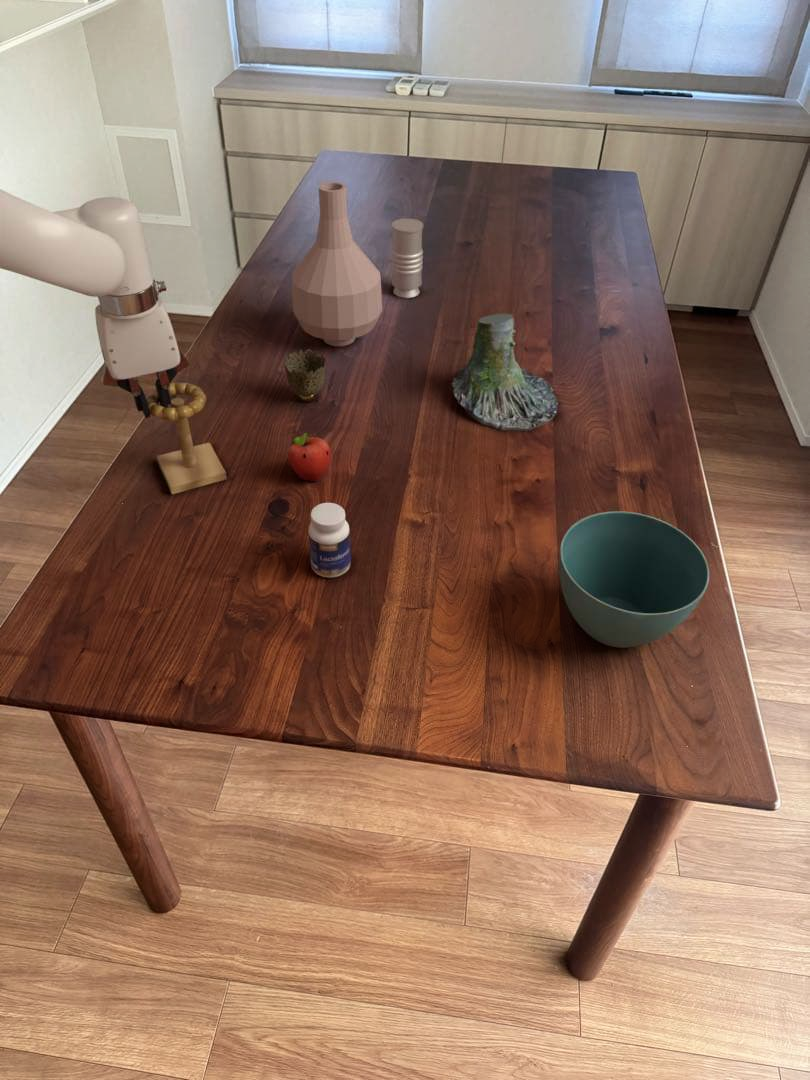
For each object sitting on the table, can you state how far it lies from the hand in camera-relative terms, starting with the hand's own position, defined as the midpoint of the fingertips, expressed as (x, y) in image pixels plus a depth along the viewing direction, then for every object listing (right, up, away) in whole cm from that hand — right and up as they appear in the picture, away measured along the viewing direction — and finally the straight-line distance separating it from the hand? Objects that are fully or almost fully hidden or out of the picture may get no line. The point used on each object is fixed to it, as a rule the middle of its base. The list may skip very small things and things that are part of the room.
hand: (155, 410), depth 120 cm
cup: (+20, +6, +26) cm, 34 cm away
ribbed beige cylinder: (+38, +36, +58) cm, 79 cm away
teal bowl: (+66, -31, -13) cm, 74 cm away
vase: (+24, +21, +43) cm, 54 cm away
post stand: (+3, -8, +10) cm, 13 cm away
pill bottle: (+27, -23, -5) cm, 36 cm away
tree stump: (+56, +6, +27) cm, 62 cm away
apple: (+23, -10, +9) cm, 26 cm away
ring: (+3, +1, +1) cm, 3 cm away
